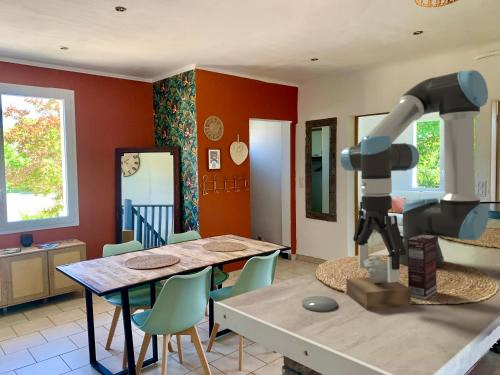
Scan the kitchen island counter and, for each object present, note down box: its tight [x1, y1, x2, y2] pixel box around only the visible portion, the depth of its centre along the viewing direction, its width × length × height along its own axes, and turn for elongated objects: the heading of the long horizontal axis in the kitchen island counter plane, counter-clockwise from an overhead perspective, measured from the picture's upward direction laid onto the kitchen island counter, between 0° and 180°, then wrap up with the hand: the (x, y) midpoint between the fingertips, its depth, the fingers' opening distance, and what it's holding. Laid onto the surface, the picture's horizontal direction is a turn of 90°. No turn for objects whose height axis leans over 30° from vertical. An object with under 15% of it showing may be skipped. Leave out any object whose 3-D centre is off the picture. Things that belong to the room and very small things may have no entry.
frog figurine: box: [364, 255, 388, 283], centre depth 102 cm, size 6×7×7 cm
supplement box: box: [407, 235, 438, 300], centre depth 105 cm, size 9×5×16 cm, turn 135°
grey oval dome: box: [301, 295, 338, 313], centre depth 99 cm, size 9×9×1 cm
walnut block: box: [345, 276, 412, 311], centre depth 102 cm, size 12×12×5 cm
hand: (377, 274), depth 101 cm, fingers open, 13 cm apart
